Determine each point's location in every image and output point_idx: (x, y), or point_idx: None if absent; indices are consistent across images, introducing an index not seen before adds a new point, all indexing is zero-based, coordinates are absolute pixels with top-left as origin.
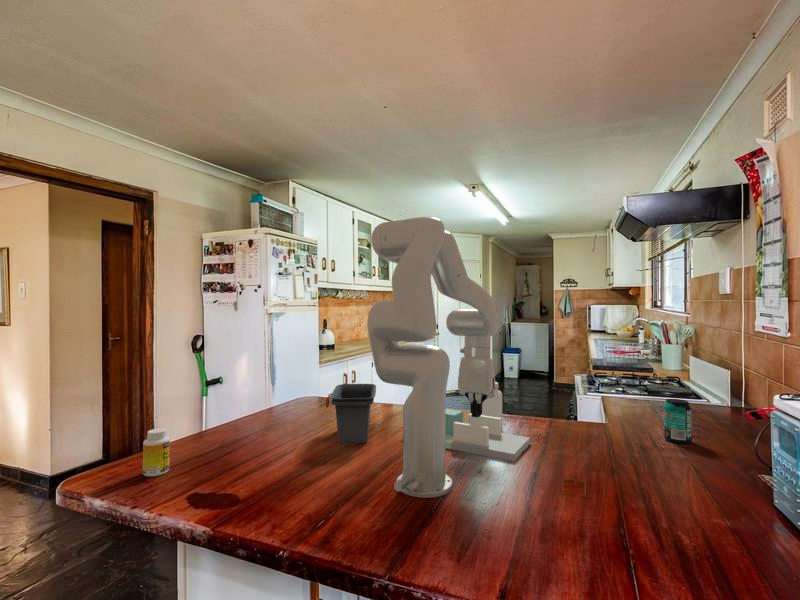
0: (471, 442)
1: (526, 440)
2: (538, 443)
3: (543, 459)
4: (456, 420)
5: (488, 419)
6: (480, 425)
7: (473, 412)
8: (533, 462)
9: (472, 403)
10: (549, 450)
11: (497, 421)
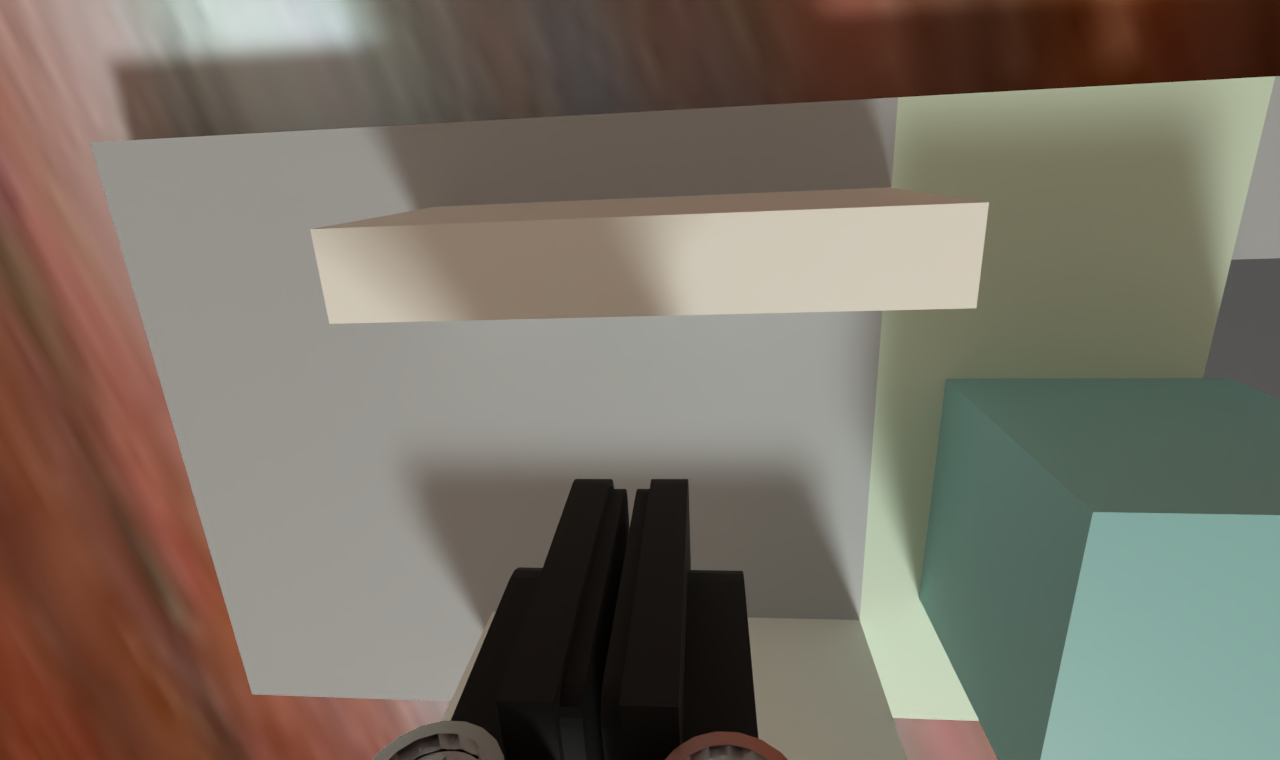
0: (631, 199)
1: (233, 608)
2: (256, 700)
3: (27, 364)
4: (1022, 519)
5: None
6: None
7: (644, 529)
8: (39, 242)
9: (658, 699)
10: (112, 590)
11: None
